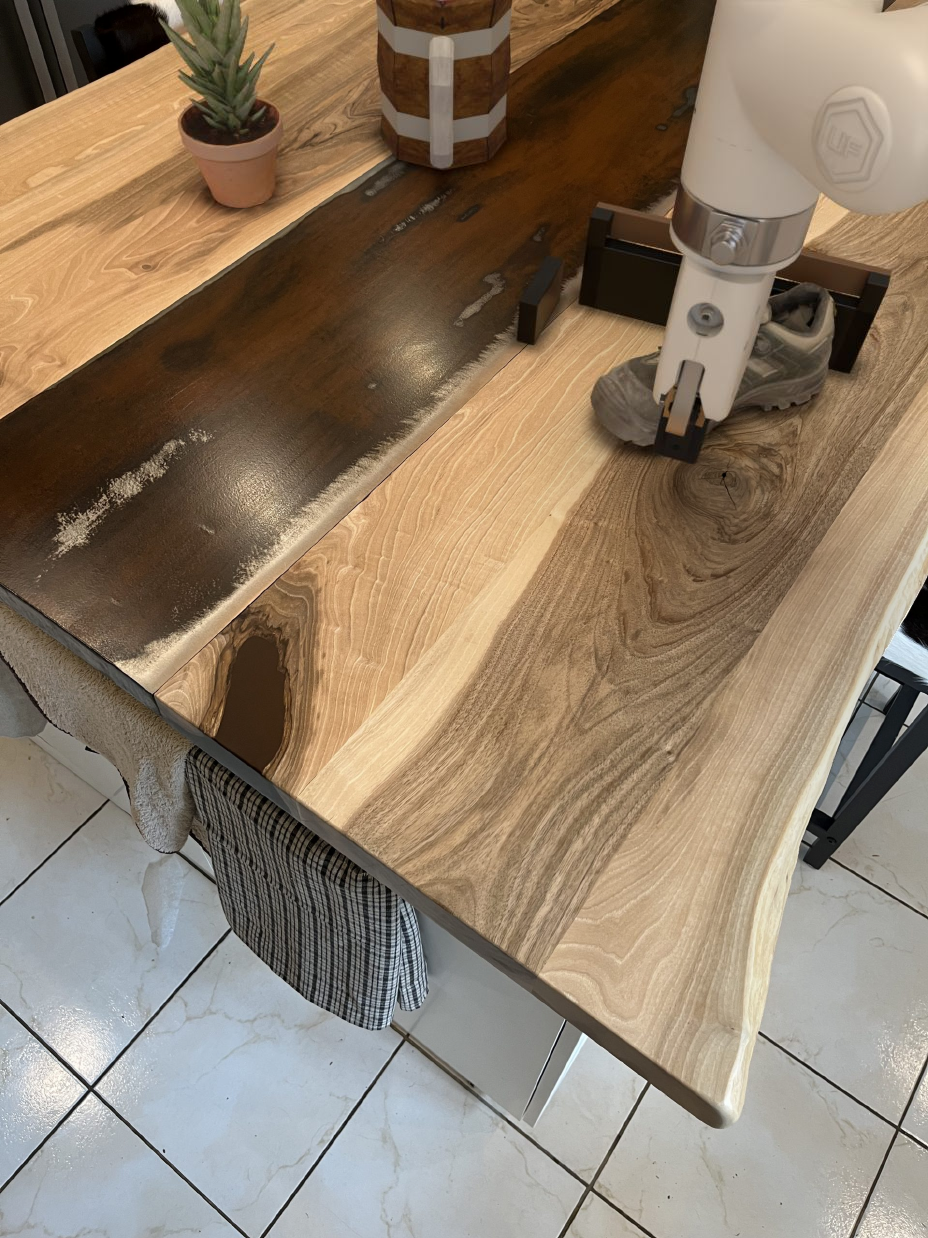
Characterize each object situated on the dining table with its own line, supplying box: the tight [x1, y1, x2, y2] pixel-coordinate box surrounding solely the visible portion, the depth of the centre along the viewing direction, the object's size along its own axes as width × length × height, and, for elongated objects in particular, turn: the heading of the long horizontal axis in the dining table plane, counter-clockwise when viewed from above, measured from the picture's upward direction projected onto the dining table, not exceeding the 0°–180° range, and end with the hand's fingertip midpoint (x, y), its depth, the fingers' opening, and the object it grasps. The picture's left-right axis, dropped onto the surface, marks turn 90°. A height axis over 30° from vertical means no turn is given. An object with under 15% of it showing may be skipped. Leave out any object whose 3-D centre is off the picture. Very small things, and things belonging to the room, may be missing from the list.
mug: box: [375, 0, 513, 171], centre depth 92 cm, size 20×14×15 cm
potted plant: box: [158, 0, 285, 209], centre depth 83 cm, size 10×10×25 cm
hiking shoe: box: [589, 282, 837, 447], centre depth 73 cm, size 9×21×12 cm, turn 115°
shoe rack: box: [516, 201, 893, 374], centre depth 77 cm, size 27×9×8 cm, turn 68°
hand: (676, 451), depth 67 cm, fingers closed
